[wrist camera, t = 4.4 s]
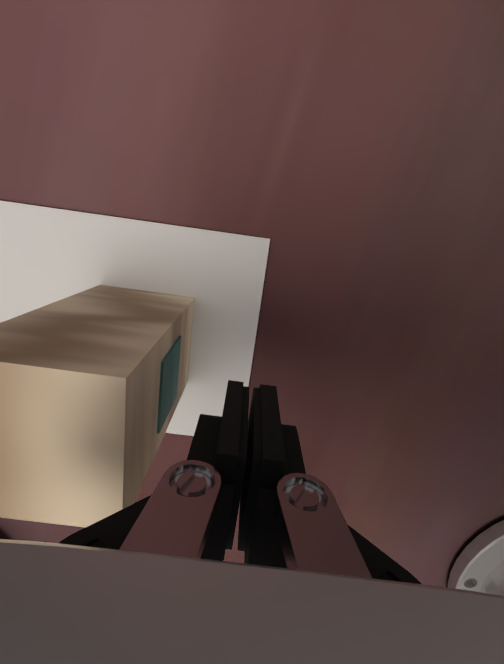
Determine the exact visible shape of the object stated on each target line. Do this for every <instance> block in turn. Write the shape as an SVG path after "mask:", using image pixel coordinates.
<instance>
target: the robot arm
mask: <svg viewBox="0 0 504 664" xmlns="http://www.w3.org/2000/svg"><path fill="white" fill-rule="evenodd" d="M243 384H244V382H240V381H232V380H228V385H227V391H226V397H225V403H224V408H223V414H222V417H221V416H213V415H205V414H200V416H199V419H198V423H197V426H196V430H195V433H194V437H193V440H192V444H191V447H190V451H189V454H188V458H187V460H186V461H181V462H178V463H176V464H174V465H172V466H171V467H169V468H168V469H167V471H166V472H165V473H164V475H163V476H162V478H161V480H160V481H159V483H158V485H157V486H156V488H155V490H154V491H153V493H152V495H150V496H148V497H146V498H144V499H142V500H140V501H138V502H136V503H134V504H132V505H130V506H128V507H126V508H124V509H122V510H120V511H118V512H116V513H114V514H112V515H110V516H108V517H106V518H104V519H102V520H100V521H98V522H96V523H94V524H92V525H90V526H88V527H86V528H84V529H82V530H80V531H78V532H76V533H74V534H72V535H70V536H68V537H67V538H65V539H64V540H62V541H61V542H60V543H49V542H38V541H23V540H8V539H0V664H504V520H502V521H500V522H498V523H496V524H494V525H492V526H491V527H489V528H488V529H486V530H485V531H483V532H482V533H480V534H479V535H478V536H477V537H476V538H475V539H473V540H472V541H471V542H470V543H469V544H468V545H467V546H466V547H465V549H464V550H463V551H462V552H461V554H460V555H459V556H458V558H457V559H456V562H455V564H454V566H453V568H452V570H451V572H450V576H449V581H448V588H446V587H438V586H432V585H423V584H421V583H420V582H419V581H418V580H417V579H416V578H415V577H414V576H413V575H412V574H411V573H409V572H408V571H407V570H405V569H404V568H403V567H402V566H400V565H399V564H398V563H396V562H395V561H394V560H393V559H391V558H390V557H389V556H387V555H386V554H385V553H383V552H382V551H381V550H380V549H378V548H377V547H376V546H374V545H373V544H372V543H371V542H369V541H368V540H367V539H365V538H364V537H363V536H361V535H360V534H359V533H358V532H356V531H355V530H354V529H352V528H351V527H350V526H349V525H347V523H346V521H345V519H344V517H343V515H342V513H341V511H340V508H339V506H338V504H337V502H336V500H335V498H334V496H333V494H332V492H331V491H330V489H329V488H328V486H327V485H325V484H324V483H323V482H322V481H321V480H319V479H317V478H315V477H313V476H310V475H308V474H306V472H305V467H304V462H303V458H302V453H301V448H300V443H299V438H298V433H297V429H296V426H291V425H283V424H281V420H280V413H279V405H278V397H277V390H276V386H270V385H262V384H260V388H254V389H253V395H252V401H251V408H250V414H249V420H248V407H249V387H246V386H243ZM239 502H240V514H239V533H238V550H240V551H245V560H244V563H235V562H227V561H223V560H224V555H225V549H231V550H232V545H233V539H234V533H235V527H236V521H237V515H238V508H239Z"/></svg>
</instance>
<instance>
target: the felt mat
mask: <svg viewBox="0 0 504 664" xmlns="http://www.w3.org/2000/svg"><path fill="white" fill-rule="evenodd" d="M269 244H270V239H267V238H260V237H253V236H246V235H239V234H232V233H225V232H218V231H211V230H204V229H197V228H190V227H183V226H176V225H169V224H162V223H155V222H148V221H141V220H134V219H127V218H120V217H113V216H106V215H99V214H92V213H85V212H78V211H71V210H64V209H57V208H50V207H43V206H36V205H29V204H22V203H15V202H7V201H0V323H1V322H4V321H6V320H9V319H12V318H14V317H17V316H19V315H22V314H25V313H27V312H30V311H33V310H35V309H38V308H40V307H43V306H46V305H48V304H51V303H53V302H56V301H59V300H61V299H64V298H67V297H69V296H72V295H74V294H77V293H80V292H82V291H85V290H87V289H90V288H93V287H95V286H98V285H107V286H114V287H122V288H129V289H136V290H143V291H151V292H158V293H165V294H173V295H180V296H187V297H195V302H194V313H193V325H192V336H191V347H190V359H189V370H188V382H187V385H186V387H185V389H184V391H183V394H182V396H181V398H180V400H179V403H178V405H177V407H176V410H175V412H174V414H173V416H172V419H171V421H170V423H169V425H168V428H167V430H166V432H165V433H173V434H181V435H189V436H194V433H195V430H196V426H197V423H198V419H199V416H200V414H205V415H213V416H221V417H222V414H223V408H224V403H225V397H226V391H227V385H228V380H232V381H240V382H244V384H243V386H246V387H248V386H249V379H250V373H251V366H252V359H253V352H254V346H255V339H256V332H257V325H258V318H259V312H260V305H261V298H262V291H263V284H264V278H265V271H266V264H267V257H268V251H269Z"/></svg>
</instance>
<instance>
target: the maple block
mask: <svg viewBox="0 0 504 664" xmlns="http://www.w3.org/2000/svg"><path fill="white" fill-rule="evenodd" d="M194 302H195V297H187V296H180V295H173V294H165V293H158V292H151V291H143V290H136V289H129V288H122V287H114V286H107V285H98V286H95V287H93V288H90V289H87V290H85V291H82V292H80V293H77V294H74V295H72V296H69V297H67V298H64V299H61V300H59V301H56V302H53V303H51V304H48V305H46V306H43V307H40V308H38V309H35V310H33V311H30V312H27V313H25V314H22V315H19V316H17V317H14V318H12V319H9V320H6V321H4V322H1V323H0V517H1V518H10V519H18V520H27V521H35V522H44V523H52V524H61V525H69V526H78V527H88V526H90V525H92V524H94V523H96V522H98V521H100V520H102V519H104V518H106V517H108V516H110V515H112V514H114V513H116V512H118V511H120V510H122V509H124V508H126V507H128V506H130V505H132V504H134V503H135V500H136V498H137V496H138V494H139V491H140V489H141V487H142V485H143V482H144V480H145V478H146V475H147V473H148V471H149V469H150V466H151V464H152V462H153V460H154V457H155V455H156V453H157V450H158V448H159V446H160V444H161V441H162V439H163V437H164V435H165V432H166V430H167V428H168V425H169V423H170V421H171V419H172V416H173V414H174V412H175V410H176V407H177V405H178V403H179V400H180V398H181V396H182V394H183V391H184V389H185V387H186V385H187V382H188V370H189V359H190V347H191V336H192V325H193V313H194Z"/></svg>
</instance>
